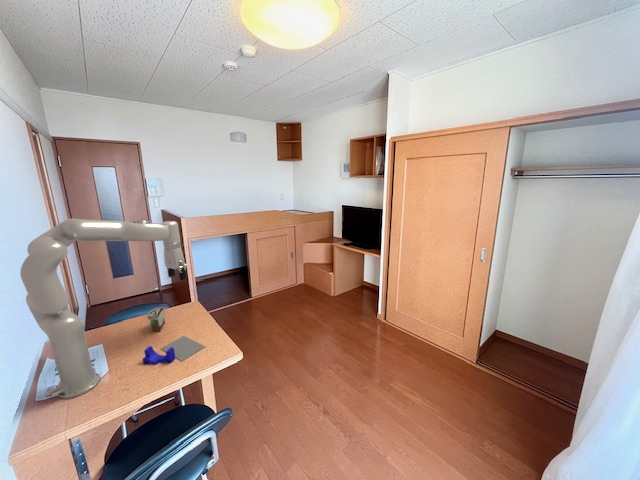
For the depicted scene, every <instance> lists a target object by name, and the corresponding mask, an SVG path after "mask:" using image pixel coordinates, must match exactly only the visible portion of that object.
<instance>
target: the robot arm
mask: <svg viewBox="0 0 640 480" xmlns="http://www.w3.org/2000/svg"><path fill="white" fill-rule="evenodd" d="M179 229H180V228H179V223H178V222H177V221H176V220H175V221H174V220H167V221H166V220H165V221H163V222H149V223H136V222H129V221H122V220H105V219H104V220H103V219H102V220H101V219H84V218H83V219H82V218H75V217H74V218H73V217H72V218H68V219H66V220H63V221H62V222H60V223H58V224H57V225H55V226H53V227H52V228H50V229H49V230H47V231H45V232H44V233H42V234H40V235H39V236H38V237H36V238H34V239H32V240H31V241H30V243H29V244H28V245H27V254H28V255H27V257H25V259H24V261H23V262H22V264H21V267H20V279H21V281H22V283H23V286H24V287H25V290H26V293H27V294H26V297H25V303H26V304H27V306H28V309H29V310H30V313H31V314H32V316H33V318H34V320H35V322H36V323H37V325H38V328H39V329H41V331H42V332H44V333H45V334H46V335H47V338H48V340H49V343H50V349H51V354H52V357H53V360H54V364H55V366H56V370H57V374H58V376H59V381H58V384H57V385H56V386H55V387H53V388H52V389H50V390H47V391H45V392H44V396H45V398H49V397H52V398H54V397H56V396H58V397H59V398H60V399H65V400H66V399H73V398H76V397H79V396H81V395H83V394H86V393H88V392H90V391H91V390H92V389H94V388H95V387H96V386H97V385H98V384H99V383H100V381H101V378H102V377H101V374H100V373H99V372H95V369H94V365H93V363H92V358H91V355H90V351H89V347H88V344H87V340H86V335H85V334H86V333H85V325H84V322H83V320H82V319H81V318H80V316H78V315H77V314H75V313H73V312H72V311H71V310H70V308H69V306H68V305H69V300H70V298H69V296H68V293H67V291H66V290H65V288H64V285H63V284H62V282H61V280H60V278H59V275H58V266H60V263H62V262H63V261H64V260H65V259H66V257H67V256H68V253H69V249H68V247H69V246H71V245H72V244H74V243H75V242H160V241H161V242H162V243H163V249H164V250H163V257H164V259H163V260H164V265H165V267H166V270H167V275H168V278H171V277H175V276H176V272H175V270H178V274H179V280H180V281H184V280H187V279H188V278H187V269H188V267H187V266H188V265H187V263H186V262H185V258H184V257H185V256H184V253H183V250H182V242H181V236H180V235H181V234H180V230H179Z"/></svg>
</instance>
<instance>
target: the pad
mask: <svg viewBox="0 0 640 480" xmlns="http://www.w3.org/2000/svg"><path fill="white" fill-rule="evenodd" d="M170 347H174V352H175V358H176V359H177V360H178V361H180V362H185V360H187V359H188V358H190V357H191V356H193V355H195V354H197V353H198V352H200V351H201V350H203V349H205V348H206V346H205V345H203V344H201V343H199V342H197V341H195V340H193V339H192V338H189V337H188V336H185V335H182V336H181V337H179V338H177V339H176V340H173V341H172V342H169V343H168V344H166V345H164V346H163V347H160V349H159V350H161V351H163V352H165V353H166V351H167V350H168V349H169V348H170Z"/></svg>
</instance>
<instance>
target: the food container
mask: <svg viewBox="0 0 640 480" xmlns="http://www.w3.org/2000/svg"><path fill="white" fill-rule="evenodd" d="M164 310H165V309H164V306H159V307H155V308H153V309H152V310H149V312H148V314H147V319H148V320H149V322H150V323H149V324H150V327H151V329H152V332H154V333H161V332H162V330H163V328H164V327H165V324H166V320H165V312H164Z"/></svg>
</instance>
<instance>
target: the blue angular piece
mask: <svg viewBox="0 0 640 480" xmlns="http://www.w3.org/2000/svg"><path fill="white" fill-rule="evenodd" d="M176 359H177V358H175V352H174V347H170V348H169V349H168V350H167V351H166V352H165V354H164V355H161V354H159V353H158V352H156V351H155V350H154V348H153V346H152V345H151V346H148V347H146V348H145V349H144V357H142V360H143V365H154V366H155V365H156V366H157V365H158V364H160V363H161V364H163V363H166V364H172V363H173V362H174V361H175V360H176Z"/></svg>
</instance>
